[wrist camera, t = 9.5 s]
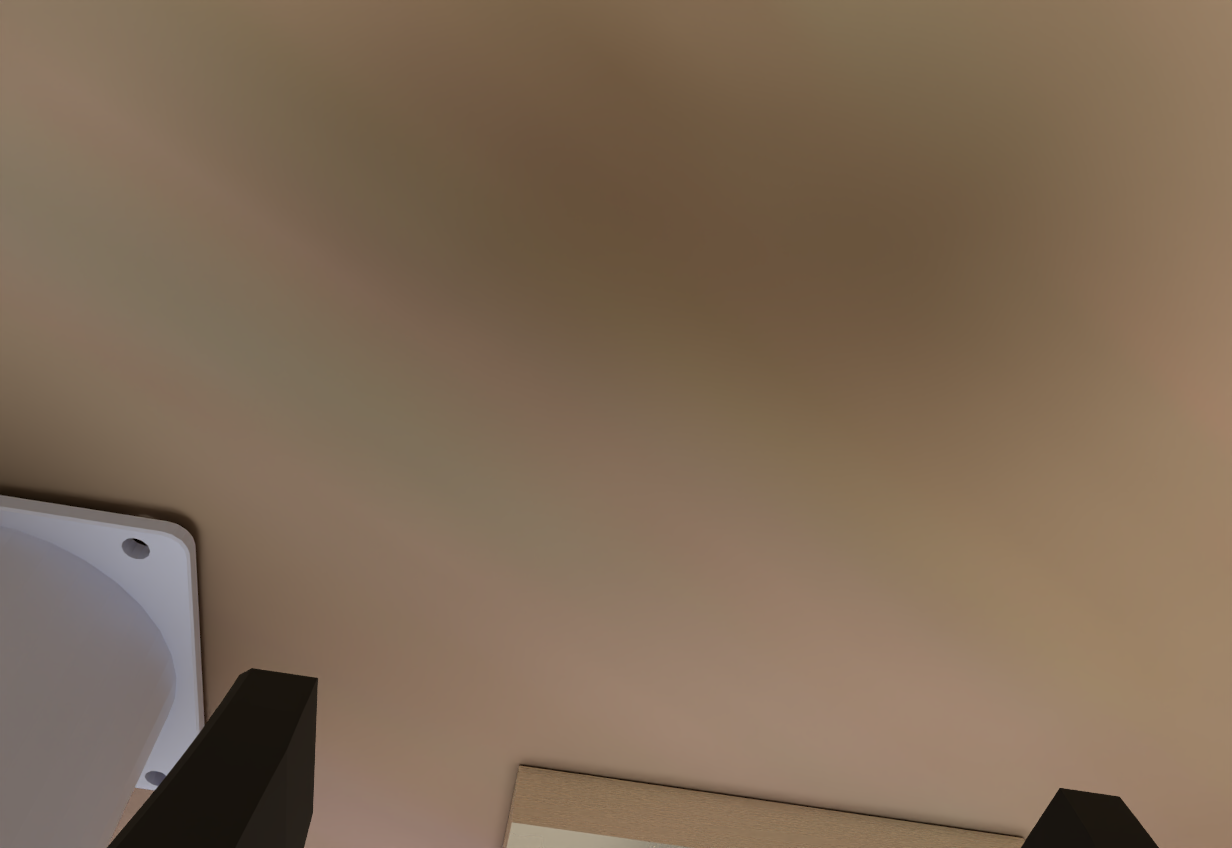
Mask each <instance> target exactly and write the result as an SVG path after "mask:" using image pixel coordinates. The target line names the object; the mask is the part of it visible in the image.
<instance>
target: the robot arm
mask: <svg viewBox="0 0 1232 848" xmlns="http://www.w3.org/2000/svg"><path fill="white" fill-rule="evenodd" d="M132 538H135V539H138V540H141V541H143V542H144V543H145V544H147V545H142V544H139V543H137V542H136V541H135V540H133V539H132ZM317 685H318V678H314V677H307V676H300V675H294V674H287V673H280V672H273V671H267V670H260V669H253V668H252V669H250V670H248V671H246V672H244V673H242V674H240V675H239V677H238V678H237V680H236V681H235V683H234V684H233V686H232V687H231V689H230V690H229V692H228V693H227V695H226V696H225V698H224V699H223V701H222V702H221V703H220V705H219V706H218V708H217V709H216V710H215V712H214V713H213V715H212V716H211V717H210V719H209V720H208V722H207V723H206V725H204V705H203V685H202V666H201V646H200V626H199V606H198V587H197V567H196V547H195V542H194V539H193V537H192V535H191V534H190V533H189V532H188V531H187V530H186V529H185V528H183V527H181V526H180V525H178V524H175V523H172V522H168V521H163V520H156V519H150V518H143V517H137V516H131V515H124V514H118V513H112V512H105V511H99V510H92V509H86V508H80V507H73V506H67V505H60V504H54V503H48V502H41V501H35V500H29V499H22V498H16V497H9V496H3V495H0V848H304V845H305V841H306V837H307V833H308V829H309V826H310V822H311V818H312V814H313V793H314V766H315V739H316V712H317ZM134 788H141V789H148V790H155V791H154V792H153V793H152V795H151V796H150V797H149V798H148V800H147V801H146V802H145V803H144V804H143V806H142V807H141V808H140V809H139V810H138V812H137V813H136V814H135V815H134V816H133V817H132V819H131V820H130V821H129V822H128V823H127V825H126V826H125V827H124V828H123V829H122V830H121V832H120V833H119V834H118V835H117V836H116V838H115V839H114V840H113V841H112V842H111V844H110V845H109V846H108V844H109V842H110V840H111V838H112V836H113V834H114V831H115V829H116V827H117V825H118V823H119V821H120V819H121V816H122V814H123V812H124V810H125V808H126V806H127V804H128V801H129V799H130V797H131V795H132V793H133V791H134ZM1021 848H1159V847H1158V846H1157V845H1156V843H1155V842H1154V841H1153V839H1152V838H1151V837H1150V835H1149V834H1148V833H1147V832H1146V830H1145V829H1144V828H1143V826H1142V825H1141V824H1140V822H1139V821H1138V820H1137V818H1136V817H1135V816H1134V815H1133V813H1132V812H1131V811H1130V809H1129V808H1128V807H1127V806H1126V804H1125V803H1124V802H1123V801H1122V799H1121V798H1120V797H1118V796H1111V795H1104V794H1097V793H1091V792H1084V791H1077V790H1070V789H1064V788H1059V790H1058V792H1057V793H1056V795H1055V796H1054V798H1053V799H1052V801H1051V802H1050V804H1049V805H1048V807H1047V808H1046V810H1045V811H1044V813H1043V814H1042V816H1041V818H1040V819H1039V821H1038V822H1037V824H1036V825H1035V827H1034V828H1033V830H1032V831H1031V833H1030V834H1029V836H1028V837H1027V839H1026V840H1025V842H1024V844H1023V845H1022V847H1021Z"/></svg>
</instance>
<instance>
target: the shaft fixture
mask: <svg viewBox="0 0 1232 848" xmlns="http://www.w3.org/2000/svg"><path fill="white" fill-rule="evenodd" d="M1024 842H1025V841H1024V838H1019V837H1012V836H1005V835H998V834H991V833H984V832H977V831H970V830H964V829H957V828H950V827H943V826H936V825H929V824H922V823H915V822H908V821H901V820H894V819H887V818H880V817H873V816H866V815H860V814H853V813H846V812H839V811H832V810H825V809H818V808H811V807H804V806H797V805H790V804H783V803H776V802H769V801H762V800H756V799H749V798H742V797H735V796H728V795H721V794H714V793H707V792H700V791H693V790H686V789H679V788H672V787H665V786H658V785H651V784H645V783H638V782H631V781H624V780H617V779H610V778H603V777H596V776H589V775H582V774H575V773H568V772H561V771H554V770H547V769H541V768H534V767H527V766H520V765H519V769H518V774H517V779H516V784H515V789H514V794H513V799H512V804H511V808H510V813H509V818H508V823H507V828H506V833H505V838H504V843H503V848H1021V847H1022V845H1023V844H1024Z"/></svg>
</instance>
